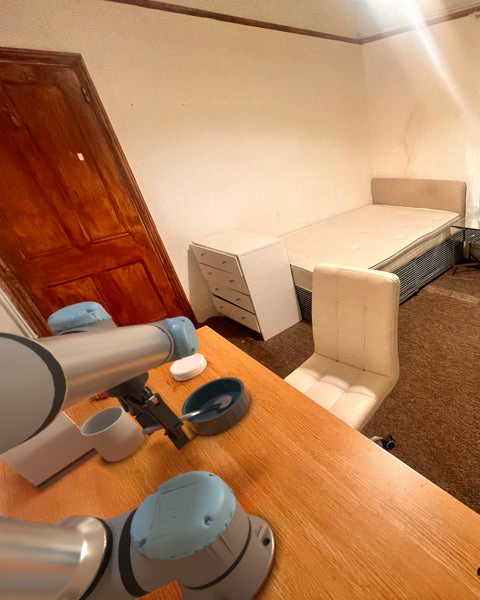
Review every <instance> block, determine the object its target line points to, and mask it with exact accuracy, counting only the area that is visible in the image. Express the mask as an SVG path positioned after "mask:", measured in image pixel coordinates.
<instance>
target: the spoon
mask: <svg viewBox="0 0 480 600" xmlns="http://www.w3.org/2000/svg"><path fill="white" fill-rule="evenodd" d="M233 404H234V400H233V398H232V397H231V396H230V395H224V396H221V397H220V398H218V399H217V400H216V401H215V403H214V405H212V406H209V407H206V408H203V409H200V410H197V411H195V412H192V413H189V414H186V415H183V416H182V415H180V416H177V417H178V418H179V419H180V420H181V421H182V422H183V423H184V422H186V421H185V420H188V419H191V418H194V417H197V416H199V415H202V414H205V413H208V412H210V411H213V410H216V411H217V412H218V413H222V412H224V411H225V410H227V409H228V408H230V407H231V406H232V405H233ZM160 430H164V428H163V427H162V426H160V425H159V424H157V425H154V426H151V427H148V428H145V429H143V428H142V430H141V431H142V434H143V435H145V436H146V435H148V434H149V433H152V432H154V433H155V432H158V431H160Z"/></svg>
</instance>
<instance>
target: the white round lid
mask: <svg viewBox="0 0 480 600" xmlns="http://www.w3.org/2000/svg"><path fill="white" fill-rule="evenodd" d="M207 365H208V362H207V360H206V358H205V357H204V355H203V354H201V353H195V354H194V355H191V356H188V357H185V358H182V359H181V360H176V361H173V363H172V365H171V366H170V368H169V372H170V374H171V376H172V377H173V379H174V380H176V381H178V382H184V381H189V380H191V379H194V378H196V377H197V376H199V374H201V373H202V372H204V371H205V370H206V368H207Z"/></svg>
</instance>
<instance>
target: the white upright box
mask: <svg viewBox="0 0 480 600" xmlns="http://www.w3.org/2000/svg"><path fill="white" fill-rule="evenodd" d="M80 430H81V427H79V426H78V425H77V424H76V423H75V422H74V421H73V420H72V419H71V418H70V417H69V416H68V415H67V414H66V413H65V411H64V410H63V411H61V412H60V413H59V415H58V416H57V418H56V419H55V420H54V421H53V422H52V423H51V424H50V425H49V426H48V427H47V428H46V429H45V430H43V431H42V432H41V433H39V434H38V435H36V436H35V437H33V438H31V439H29V440H28V441H26V442H24V443H22V444H20V445H18V446H16V447H14V448H12V449H10V450H8V451H6V452H4V453H3V454H1V455H0V461H2V462H3V463H4V464H6V465H7V466H9V467H10V468H11V469H12V470H14V471H15V472H16V473H18V474H19V475H20V476H21V477H23V478H24V479H25V480H26V481H28V482H29V483H30V484H32V485H33V486H34V487H36V488H37V489H38V490H40V491H41V492H43V491H44V490H46V489H48V487H50V486H52V485H53V484H55V483H56V482H57V481H60V480H61V479H62V478H63V477H65V476H66V475H68V474H69V473H71V472H72V471H73V470H75V469H76V468H78V467H80V466H81V465H82V464H83V463H85V462H87V461H88V460H89V459H91V458H93V457H94V456H95V455H96V454H99V452H98V451H97V450H96V449H95V448H94V447H93V446H92V445H91V444H90V443H89V442H88V441H87V440H86V439H85V438H84V437H83V436H82V435H81V432H80Z"/></svg>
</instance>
